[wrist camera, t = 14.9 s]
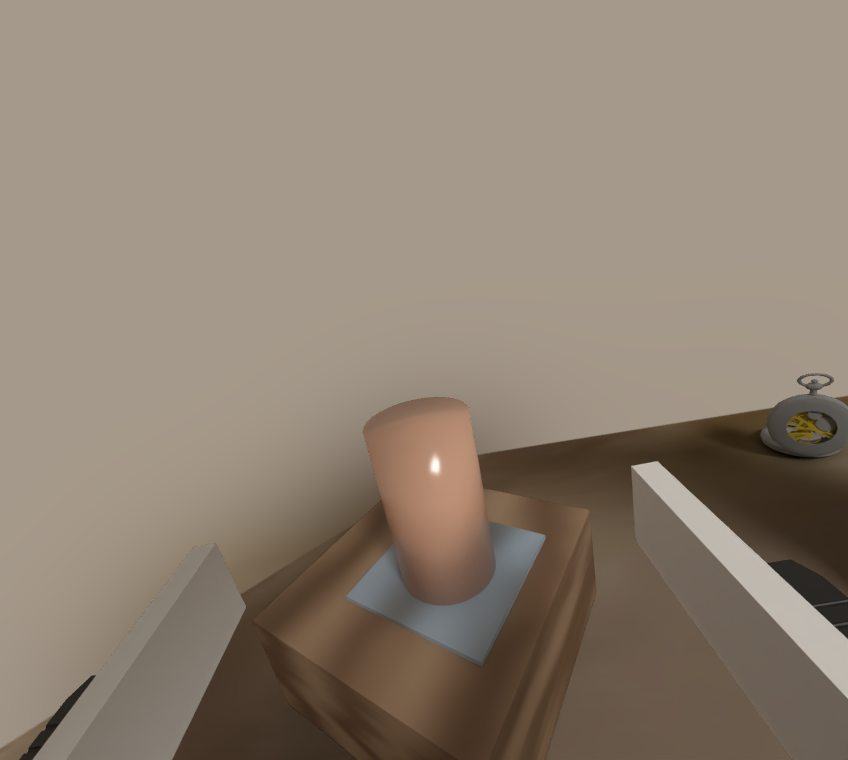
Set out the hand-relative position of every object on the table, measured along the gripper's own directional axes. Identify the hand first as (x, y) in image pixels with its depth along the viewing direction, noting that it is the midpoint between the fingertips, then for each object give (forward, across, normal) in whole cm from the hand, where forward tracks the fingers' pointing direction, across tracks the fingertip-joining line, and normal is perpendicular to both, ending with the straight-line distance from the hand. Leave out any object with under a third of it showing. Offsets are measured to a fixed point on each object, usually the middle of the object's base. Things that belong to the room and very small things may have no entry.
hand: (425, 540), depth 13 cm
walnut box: (+12, -2, -20) cm, 24 cm away
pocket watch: (+29, +37, -21) cm, 52 cm away
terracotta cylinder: (+11, -1, -12) cm, 16 cm away
